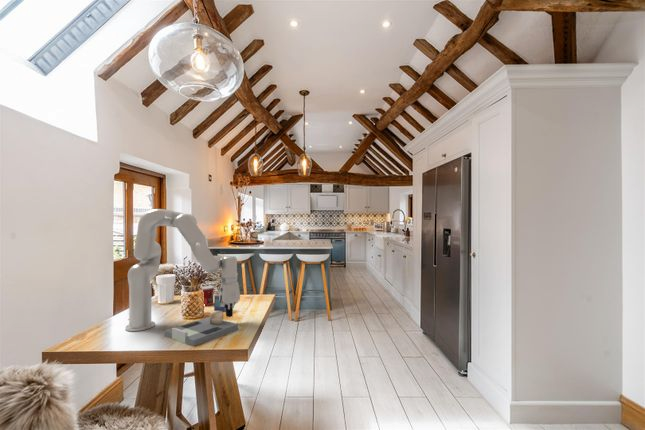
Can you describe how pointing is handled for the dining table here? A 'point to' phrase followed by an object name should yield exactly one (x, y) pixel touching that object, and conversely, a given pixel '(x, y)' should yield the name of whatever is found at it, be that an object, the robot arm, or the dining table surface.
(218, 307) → the blue box
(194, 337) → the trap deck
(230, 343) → the dining table surface
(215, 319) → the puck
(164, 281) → the cup
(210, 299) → the canned food
